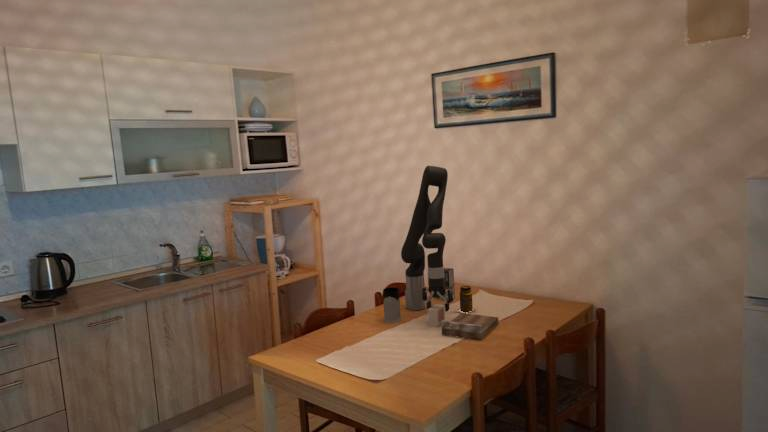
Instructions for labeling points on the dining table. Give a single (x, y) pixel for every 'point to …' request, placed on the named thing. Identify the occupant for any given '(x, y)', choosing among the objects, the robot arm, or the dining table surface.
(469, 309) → the condiment
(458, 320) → the grey rectangular slab
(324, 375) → the dining table surface
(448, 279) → the coffee box
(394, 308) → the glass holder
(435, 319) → the tea box
